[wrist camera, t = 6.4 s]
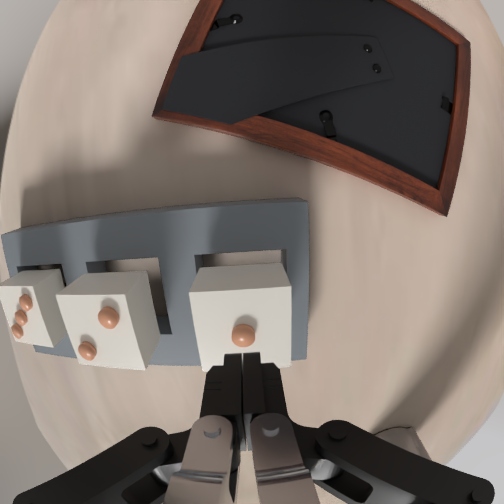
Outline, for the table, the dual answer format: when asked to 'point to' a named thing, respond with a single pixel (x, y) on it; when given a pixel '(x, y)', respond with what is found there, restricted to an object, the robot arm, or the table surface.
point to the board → (173, 257)
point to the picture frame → (330, 87)
